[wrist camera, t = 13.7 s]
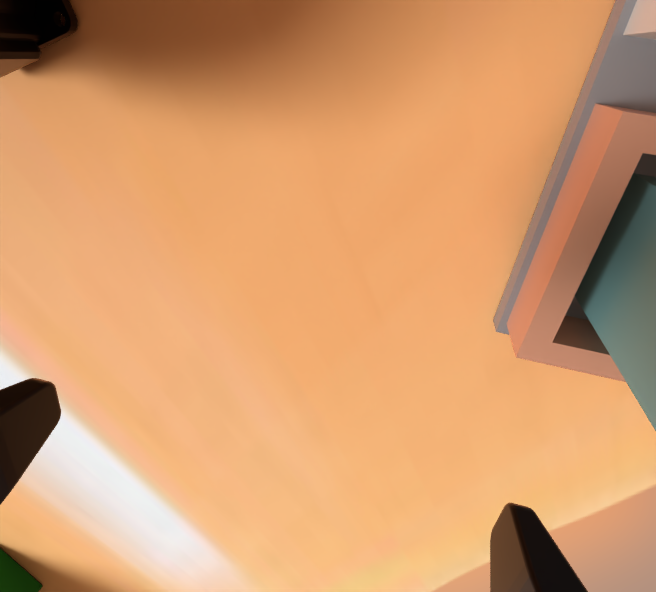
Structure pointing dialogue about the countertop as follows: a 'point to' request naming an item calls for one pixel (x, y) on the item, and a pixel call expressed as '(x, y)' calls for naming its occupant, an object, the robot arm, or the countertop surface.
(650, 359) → the plug
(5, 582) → the milk carton
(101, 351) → the countertop surface
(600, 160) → the organiser
